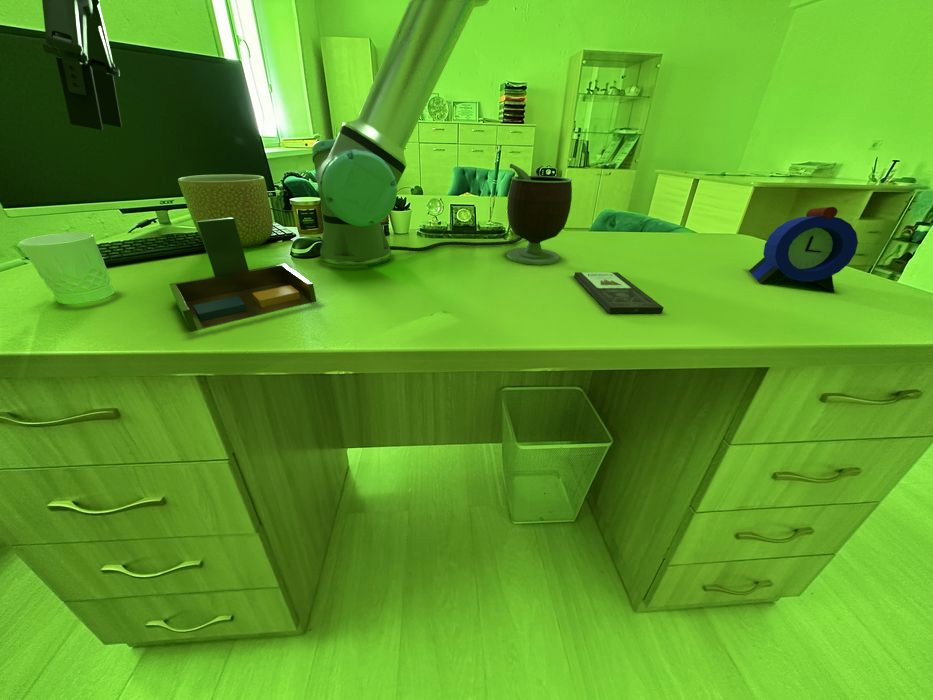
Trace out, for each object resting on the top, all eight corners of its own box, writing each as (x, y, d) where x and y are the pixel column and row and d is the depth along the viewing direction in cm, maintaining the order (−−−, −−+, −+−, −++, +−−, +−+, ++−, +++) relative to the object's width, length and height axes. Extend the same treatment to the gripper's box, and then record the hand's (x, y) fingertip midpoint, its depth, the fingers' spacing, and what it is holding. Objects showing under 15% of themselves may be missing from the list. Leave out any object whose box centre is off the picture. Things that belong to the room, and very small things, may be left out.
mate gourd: (536, 247, 96) (546, 161, 86) (574, 260, 86) (591, 165, 76) (487, 254, 89) (491, 161, 79) (522, 270, 79) (532, 166, 69)
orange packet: (292, 291, 63) (290, 285, 62) (300, 298, 60) (299, 291, 60) (253, 299, 59) (251, 292, 59) (261, 307, 57) (259, 300, 56)
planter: (224, 258, 81) (201, 183, 74) (187, 246, 89) (162, 177, 82) (293, 243, 94) (279, 177, 86) (255, 233, 102) (239, 173, 94)
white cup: (47, 314, 55) (7, 247, 50) (66, 296, 61) (32, 234, 56) (114, 305, 58) (83, 241, 53) (126, 289, 64) (99, 230, 59)
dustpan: (289, 283, 68) (273, 213, 62) (317, 305, 60) (302, 227, 54) (177, 306, 58) (145, 225, 52) (192, 336, 50) (156, 244, 44)
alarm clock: (761, 284, 74) (796, 205, 67) (746, 267, 84) (775, 197, 77) (836, 294, 70) (882, 211, 63) (811, 275, 80) (849, 202, 73)
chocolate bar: (610, 307, 59) (574, 272, 75) (608, 313, 60) (574, 276, 75) (663, 307, 60) (617, 272, 75) (662, 312, 60) (616, 276, 76)
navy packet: (240, 302, 58) (238, 295, 58) (247, 311, 56) (244, 303, 55) (195, 312, 55) (192, 305, 54) (200, 321, 52) (197, 314, 51)
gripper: (44, -73, 47) (83, 117, 56) (-58, -188, 29) (23, 119, 38) (122, -43, 51) (147, 130, 60) (76, -127, 33) (121, 137, 42)
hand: (99, 126), depth 49 cm, fingers open, 13 cm apart
